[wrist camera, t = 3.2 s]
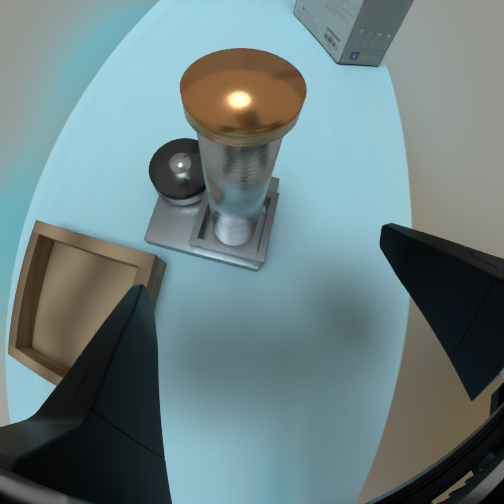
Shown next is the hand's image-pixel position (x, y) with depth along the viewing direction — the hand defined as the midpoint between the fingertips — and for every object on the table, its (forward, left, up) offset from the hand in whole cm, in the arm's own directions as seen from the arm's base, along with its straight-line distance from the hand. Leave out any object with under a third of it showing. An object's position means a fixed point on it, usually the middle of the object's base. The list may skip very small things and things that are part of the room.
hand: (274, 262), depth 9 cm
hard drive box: (-4, -38, -12) cm, 40 cm away
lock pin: (+2, -4, -11) cm, 12 cm away
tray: (+13, +6, -12) cm, 18 cm away
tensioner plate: (+5, -6, -12) cm, 14 cm away
